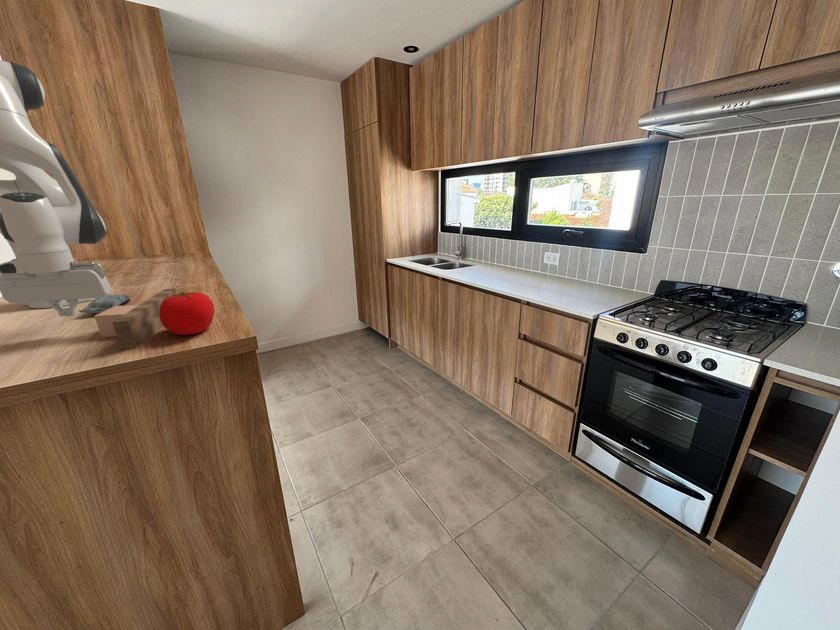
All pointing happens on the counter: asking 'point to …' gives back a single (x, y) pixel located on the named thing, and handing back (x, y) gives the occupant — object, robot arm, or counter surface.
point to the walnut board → (141, 321)
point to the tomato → (186, 313)
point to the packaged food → (105, 303)
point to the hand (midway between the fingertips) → (69, 315)
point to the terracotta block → (111, 319)
